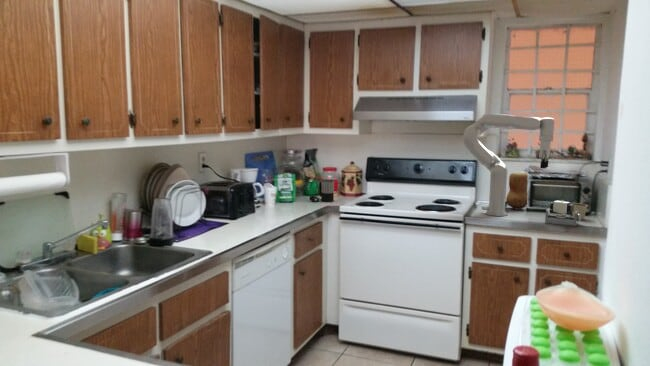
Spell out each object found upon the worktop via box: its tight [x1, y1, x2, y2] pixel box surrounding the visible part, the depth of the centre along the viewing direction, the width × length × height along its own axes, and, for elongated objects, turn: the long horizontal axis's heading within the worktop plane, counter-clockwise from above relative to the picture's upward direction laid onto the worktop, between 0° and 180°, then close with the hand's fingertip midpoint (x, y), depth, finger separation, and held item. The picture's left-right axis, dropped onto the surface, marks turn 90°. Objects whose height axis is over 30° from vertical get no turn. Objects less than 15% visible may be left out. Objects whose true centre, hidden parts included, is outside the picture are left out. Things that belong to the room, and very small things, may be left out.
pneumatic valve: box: [549, 199, 574, 219], centre depth 294 cm, size 6×12×12 cm, turn 42°
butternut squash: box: [505, 170, 529, 210], centre depth 336 cm, size 14×13×25 cm
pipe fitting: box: [544, 207, 582, 227], centre depth 294 cm, size 18×10×7 cm, turn 61°
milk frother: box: [309, 179, 335, 203], centre depth 356 cm, size 14×16×15 cm
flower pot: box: [571, 202, 589, 220], centre depth 308 cm, size 9×9×9 cm
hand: (544, 167), depth 306 cm, fingers open, 9 cm apart
